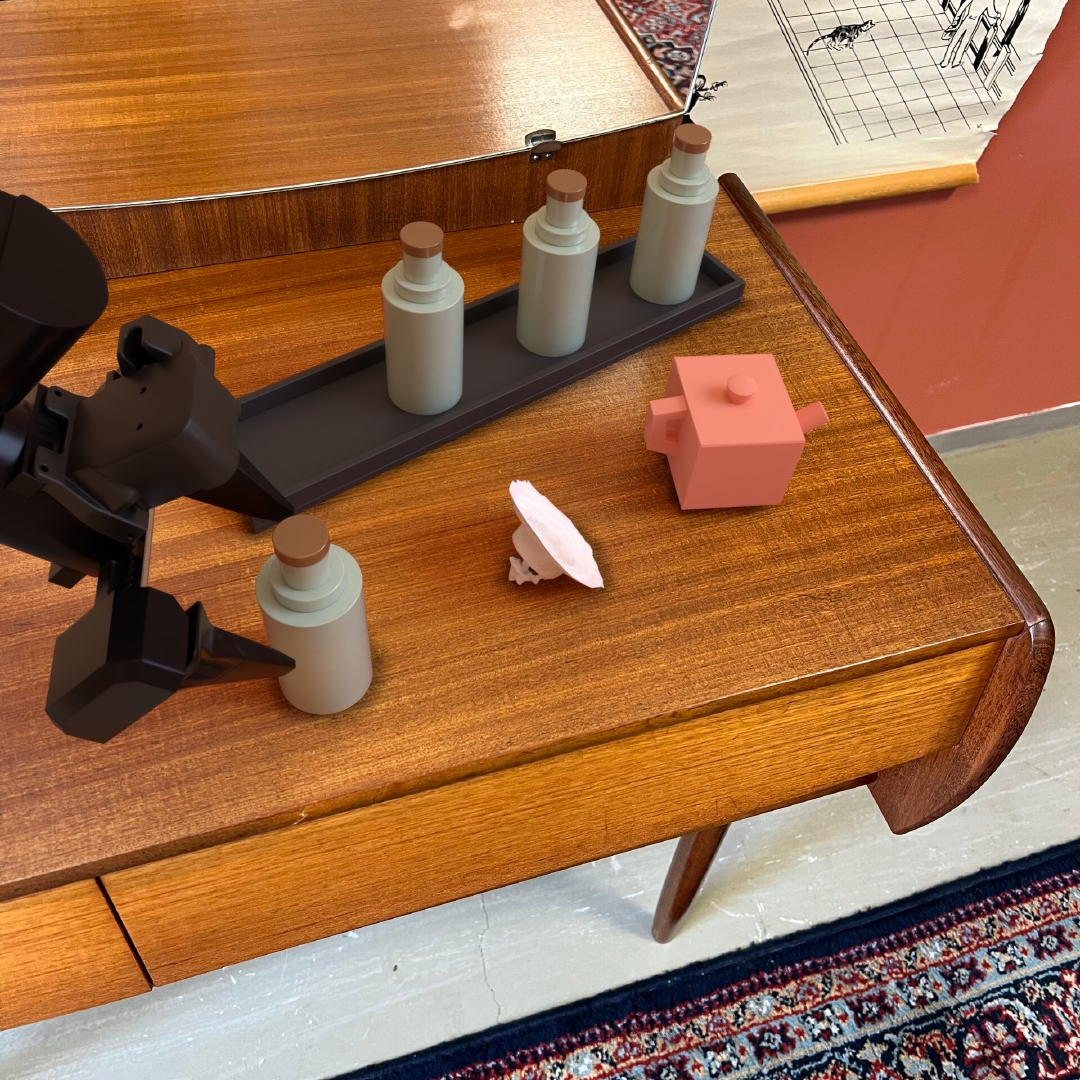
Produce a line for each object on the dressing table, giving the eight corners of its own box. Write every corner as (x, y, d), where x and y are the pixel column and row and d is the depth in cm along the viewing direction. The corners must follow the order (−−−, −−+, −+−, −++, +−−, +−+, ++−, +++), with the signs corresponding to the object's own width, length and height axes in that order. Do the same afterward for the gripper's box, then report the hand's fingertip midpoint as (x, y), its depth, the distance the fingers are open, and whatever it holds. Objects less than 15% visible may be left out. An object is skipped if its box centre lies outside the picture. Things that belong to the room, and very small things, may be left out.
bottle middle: (516, 356, 73) (527, 202, 63) (515, 309, 76) (525, 155, 66) (587, 358, 74) (610, 206, 64) (583, 311, 77) (604, 159, 67)
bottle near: (385, 414, 69) (374, 259, 59) (390, 362, 72) (380, 206, 62) (461, 417, 69) (464, 263, 59) (463, 364, 72) (466, 210, 62)
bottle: (273, 714, 55) (234, 580, 45) (285, 633, 59) (251, 491, 48) (369, 715, 56) (352, 582, 46) (375, 635, 59) (361, 494, 49)
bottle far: (632, 304, 78) (659, 152, 68) (626, 261, 81) (652, 110, 71) (698, 306, 78) (736, 156, 68) (690, 264, 81) (725, 114, 71)
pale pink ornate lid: (523, 590, 66) (470, 484, 63) (597, 558, 66) (548, 450, 63) (530, 646, 59) (472, 529, 56) (614, 610, 58) (559, 490, 55)
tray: (255, 534, 63) (250, 513, 61) (190, 442, 67) (183, 420, 65) (740, 303, 80) (746, 281, 78) (664, 241, 84) (669, 219, 82)
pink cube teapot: (823, 511, 67) (864, 425, 61) (647, 521, 66) (669, 433, 59) (790, 426, 72) (825, 337, 65) (625, 433, 70) (644, 343, 64)
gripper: (40, 542, 31) (417, 685, 41) (104, 182, 42) (388, 366, 52) (-124, 695, 36) (248, 787, 46) (-28, 338, 47) (255, 477, 57)
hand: (290, 588), depth 50 cm, fingers open, 9 cm apart
